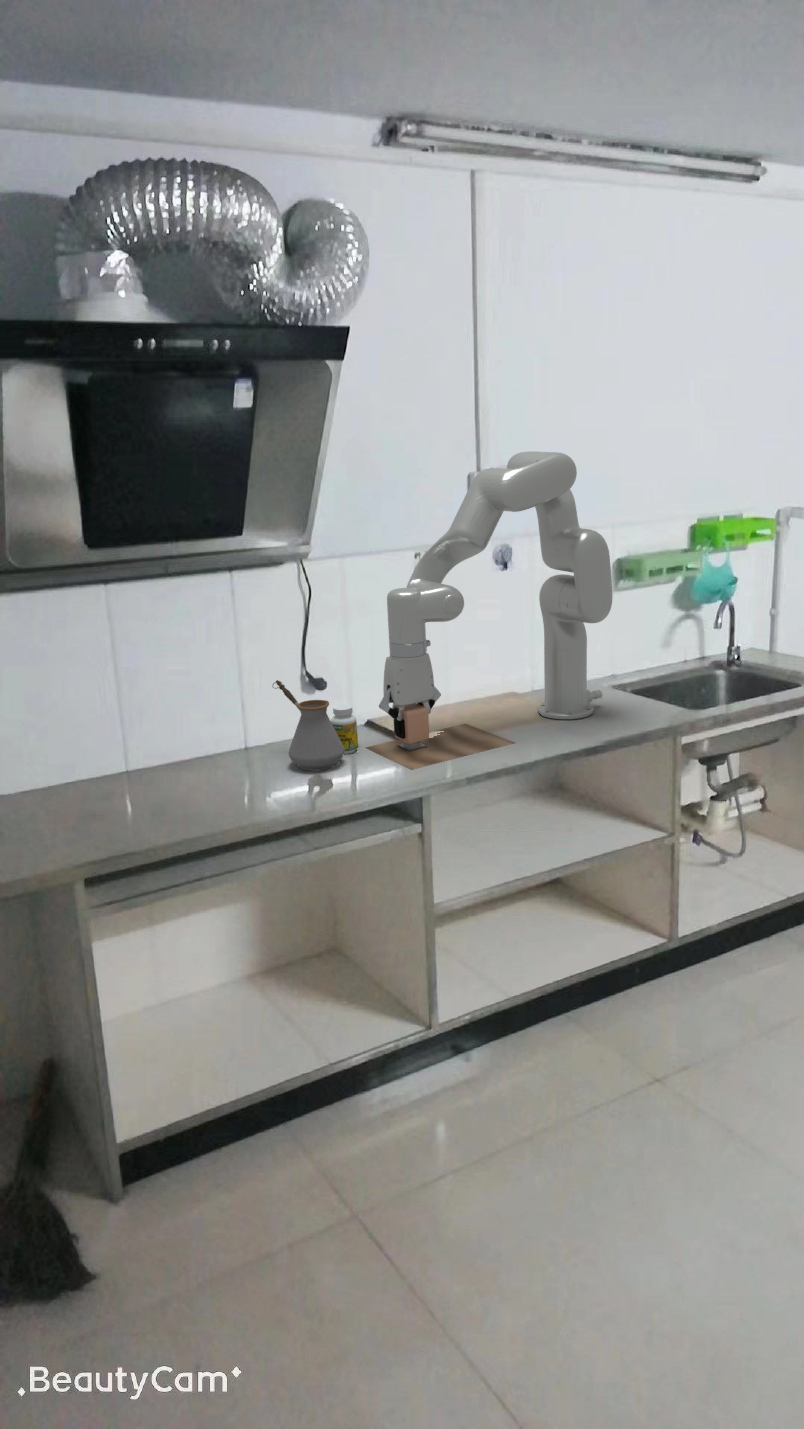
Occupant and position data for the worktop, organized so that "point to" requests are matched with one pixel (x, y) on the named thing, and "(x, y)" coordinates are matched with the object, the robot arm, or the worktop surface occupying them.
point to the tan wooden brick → (415, 723)
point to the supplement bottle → (345, 727)
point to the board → (442, 746)
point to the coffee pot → (313, 735)
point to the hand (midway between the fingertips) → (411, 733)
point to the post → (412, 745)
